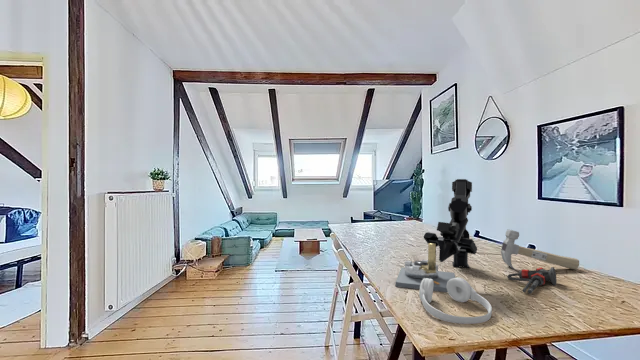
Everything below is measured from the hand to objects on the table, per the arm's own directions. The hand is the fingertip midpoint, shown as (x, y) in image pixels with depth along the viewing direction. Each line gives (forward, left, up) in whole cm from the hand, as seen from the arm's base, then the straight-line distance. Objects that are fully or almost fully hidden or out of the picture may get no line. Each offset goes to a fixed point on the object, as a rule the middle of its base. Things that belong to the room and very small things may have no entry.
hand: (440, 261), depth 117 cm
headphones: (+23, +3, -9) cm, 25 cm away
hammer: (-37, +40, -8) cm, 55 cm away
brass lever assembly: (-2, -6, -6) cm, 9 cm away
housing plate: (-1, -5, -8) cm, 9 cm away
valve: (-11, +30, -9) cm, 33 cm away
